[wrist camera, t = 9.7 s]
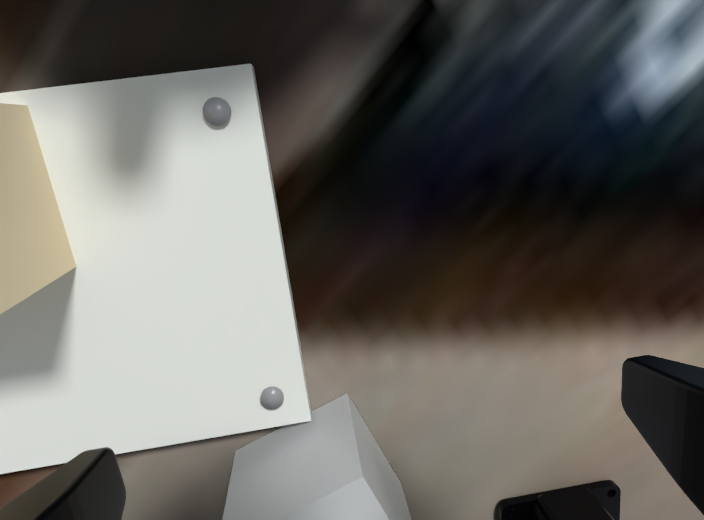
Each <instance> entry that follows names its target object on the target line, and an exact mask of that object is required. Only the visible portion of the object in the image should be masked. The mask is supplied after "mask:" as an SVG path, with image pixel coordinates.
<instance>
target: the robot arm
mask: <svg viewBox="0 0 704 520" xmlns="http://www.w3.org/2000/svg"><path fill="white" fill-rule="evenodd" d="M621 401H622V405H623V408H624V410H625V412H626V414H627V416H628V417H629V418H630V420H631V421H632V423H633V424H634V425H635V427H636V428H637V429H638V431H639V432H640V434H641V435H642V436H643V438H644V439H645V440H646V442H647V443H648V445H649V446H650V447H651V449H652V450H653V452H654V453H655V454H656V456H657V457H658V458H659V460H660V461H661V463H662V464H663V465H664V467H665V468H666V469H667V471H668V472H669V474H670V475H671V476H672V478H673V479H674V480H675V481H676V483H677V484H678V485H679V487H680V488H681V489H682V490H683V491H684V493H685V494H686V495H687V496H688V497H689V499H690V500H691V501H692V502H693V503H694V504H695V506H696V507H697V508H698V509H699V510H700V511H701V513H702V514H703V515H704V368H700V367H696V366H692V365H688V364H684V363H680V362H676V361H671V360H667V359H663V358H659V357H655V356H650V355H645V356H639V357H633V358H628V359H627V360H626V361H625V362H624V363H623V367H622V392H621ZM609 490H610V491H609ZM125 500H126V490H125V485H124V482H123V479H122V475H121V472H120V469H119V465H118V462H117V459H116V456H115V453H114V452H113V450H112V449H110V448H109V447H104V448H98V449H92V450H87V451H84V452H82V453H80V454H79V455H77V456H76V457H75V458H73V459H72V460H70V461H69V462H67V463H66V464H64V465H63V466H61V467H60V468H59V469H57V470H56V471H54V472H53V473H51V474H50V475H48V476H47V477H46V478H44V479H43V480H41V481H40V482H38V483H37V484H35V485H34V486H33V487H31V488H30V489H28V490H27V491H25V492H24V493H22V494H21V495H19V496H18V497H17V498H15V499H14V500H12V501H11V502H9V503H8V504H6V505H5V506H4V507H2V508H1V509H0V520H121V518H122V514H123V510H124V506H125ZM508 509H510V510H508ZM507 510H508V511H507ZM498 518H499V520H619V518H620V488H619V487H618V486H617V485H616V484H615V483H614V482H613V481H611V480H606V481H600V482H595V483H590V484H584V485H579V486H574V487H569V488H563V489H558V490H553V491H547V492H542V493H537V494H531V495H526V496H521V497H516V498H510V499H506V500H503V501H502V502H501V503H500V504H499V506H498Z"/></svg>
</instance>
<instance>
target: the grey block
mask: <svg viewBox="0 0 704 520" xmlns="http://www.w3.org/2000/svg"><path fill="white" fill-rule="evenodd" d="M222 520H411V516H410V513H409V509H408V506H407V502H406V499H405V495H404V492H403V489H402V485H401V483H400V481H399V479H398V478H397V476H396V474H395V473H394V471H393V469H392V468H391V466H390V464H389V463H388V461H387V459H386V458H385V456H384V454H383V452H382V451H381V449H380V447H379V446H378V444H377V442H376V441H375V439H374V437H373V436H372V434H371V432H370V431H369V429H368V427H367V426H366V424H365V422H364V420H363V419H362V417H361V415H360V414H359V412H358V410H357V409H356V407H355V405H354V404H353V402H352V400H351V399H350V397H349V395H348V393H346V394H345V395H343V396H341V397H339V398H337V399H335V400H333V401H331V402H329V403H327V404H325V405H323V406H321V407H319V408H317V409H315V410H314V411H312V412H311V421H307V422H301V423H295V424H289V425H284V426H283V427H281V428H279V429H277V430H275V431H273V432H271V433H269V434H267V435H265V436H263V437H261V438H259V439H257V440H255V441H253V442H252V443H250V444H248V445H246V446H244V447H242V448H240V449H238V450H236V451H235V456H234V462H233V467H232V472H231V477H230V482H229V488H228V493H227V498H226V503H225V509H224V514H223V519H222Z"/></svg>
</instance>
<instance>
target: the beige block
mask: <svg viewBox="0 0 704 520" xmlns="http://www.w3.org/2000/svg"><path fill="white" fill-rule="evenodd" d="M75 267H76V263H75V260H74V257H73V254H72V250H71V247H70V244H69V240H68V237H67V234H66V230H65V227H64V224H63V220H62V217H61V214H60V211H59V207H58V204H57V201H56V197H55V194H54V191H53V187H52V184H51V181H50V177H49V174H48V171H47V168H46V164H45V161H44V158H43V154H42V151H41V148H40V144H39V141H38V138H37V134H36V131H35V128H34V125H33V121H32V118H31V115H30V111H29V108H28V105H16V104H4V103H0V314H2V313H3V312H5V311H7V310H8V309H10V308H11V307H13V306H15V305H16V304H18V303H19V302H21V301H23V300H24V299H26V298H27V297H29V296H30V295H32V294H34V293H35V292H37V291H38V290H40V289H42V288H43V287H45V286H46V285H48V284H50V283H51V282H53V281H54V280H56V279H57V278H59V277H61V276H62V275H64V274H65V273H67V272H69V271H70V270H72V269H73V268H75Z"/></svg>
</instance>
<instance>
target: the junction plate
mask: <svg viewBox="0 0 704 520" xmlns="http://www.w3.org/2000/svg"><path fill="white" fill-rule="evenodd" d="M0 103H4V104H16V105H28V108H29V111H30V115H31V118H32V121H33V125H34V128H35V131H36V134H37V138H38V141H39V144H40V148H41V151H42V154H43V158H44V161H45V164H46V168H47V171H48V174H49V177H50V181H51V184H52V187H53V191H54V194H55V197H56V201H57V204H58V207H59V211H60V214H61V217H62V220H63V224H64V227H65V230H66V234H67V237H68V240H69V244H70V247H71V250H72V254H73V257H74V260H75V263H76V267H75V268H73V269H72V270H70V271H69V272H67V273H65V274H64V275H62V276H61V277H59V278H57V279H56V280H54V281H53V282H51V283H50V284H48V285H46V286H45V287H43V288H42V289H40V290H38V291H37V292H35V293H34V294H32V295H30V296H29V297H27V298H26V299H24V300H23V301H21V302H19V303H18V304H16V305H15V306H13V307H11V308H10V309H8V310H7V311H5V312H3V313H2V314H0V474H4V473H10V472H16V471H22V470H27V469H33V468H39V467H45V466H51V465H57V464H62V463H67V462H69V461H70V460H72V459H73V458H75V457H76V456H77V455H79V454H80V453H82V452H84V451H87V450H92V449H98V448H104V447H109V448H110V449H112V450H113V452H114V453H115V454H121V453H126V452H132V451H138V450H144V449H150V448H156V447H161V446H167V445H173V444H179V443H185V442H190V441H196V440H202V439H208V438H214V437H220V436H225V435H231V434H237V433H243V432H249V431H255V430H260V429H266V428H272V427H278V426H284V425H289V424H295V423H301V422H307V421H311V405H310V399H309V393H308V387H307V381H306V375H305V369H304V363H303V357H302V351H301V345H300V339H299V334H298V328H297V322H296V316H295V310H294V304H293V298H292V292H291V286H290V280H289V274H288V268H287V262H286V256H285V250H284V244H283V238H282V232H281V226H280V220H279V214H278V208H277V202H276V196H275V190H274V184H273V178H272V173H271V167H270V161H269V155H268V149H267V143H266V137H265V131H264V125H263V119H262V113H261V107H260V101H259V95H258V89H257V83H256V77H255V71H254V67H253V66H252V64H243V65H234V66H226V67H218V68H209V69H201V70H192V71H184V72H175V73H167V74H158V75H150V76H141V77H133V78H125V79H116V80H108V81H99V82H91V83H82V84H74V85H65V86H57V87H48V88H40V89H31V90H23V91H15V92H6V93H0Z"/></svg>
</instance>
